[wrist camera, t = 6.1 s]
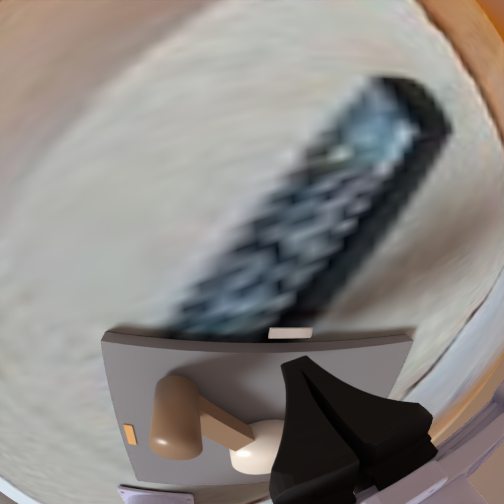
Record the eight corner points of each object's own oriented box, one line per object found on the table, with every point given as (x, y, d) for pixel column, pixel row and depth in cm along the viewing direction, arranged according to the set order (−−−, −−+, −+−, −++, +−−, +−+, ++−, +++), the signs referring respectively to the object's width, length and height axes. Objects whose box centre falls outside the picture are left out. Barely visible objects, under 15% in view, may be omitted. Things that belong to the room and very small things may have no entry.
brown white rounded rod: (309, 433, 17) (330, 476, 13) (257, 463, 17) (270, 505, 13) (192, 351, 13) (194, 413, 9) (133, 395, 13) (123, 452, 9)
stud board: (341, 459, 21) (345, 466, 20) (138, 472, 17) (137, 481, 16) (412, 314, 17) (421, 321, 16) (103, 305, 13) (96, 315, 12)
